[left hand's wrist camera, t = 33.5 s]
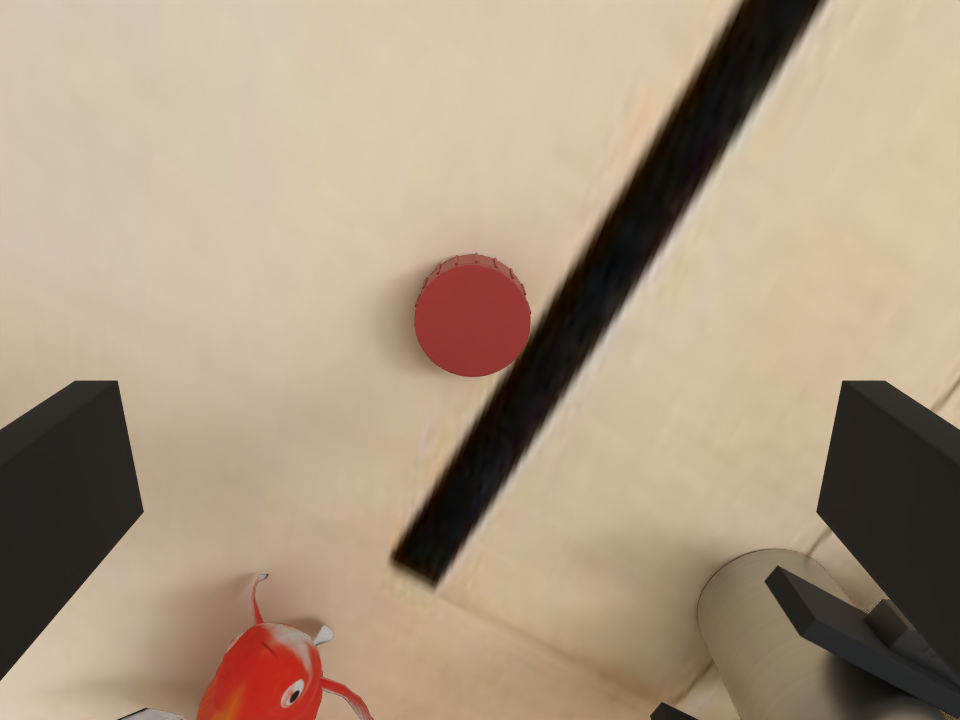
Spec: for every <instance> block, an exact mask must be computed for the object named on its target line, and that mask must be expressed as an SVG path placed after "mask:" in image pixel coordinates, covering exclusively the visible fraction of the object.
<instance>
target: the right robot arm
mask: <svg viewBox="0 0 960 720" xmlns="http://www.w3.org/2000/svg"><path fill="white" fill-rule="evenodd" d="M764 582H765V583H766V585H767V586H768V588H769V590H770V591H771V593H772V594H773V596H774V597H775V599H776V600H777V602H778V603H779V605H780V606H781V608H782V609H783V611H784V613H785V614H786V616H787V617H788V619H789V620H790V622H791V623H792V625H793V626H794V628H795V629H796V631H797V632H798V634H799V636H800V637H802V638H804V639H806V640H808V641H810V642H812V643H814V644H816V645H818V646H819V647H821V648H823V649H825V650H827V651H829V652H831V653H833V654H835V655H837V656H839V657H840V658H842V659H844V660H846V661H848V662H850V663H852V664H854V665H856V666H858V667H860V668H861V669H863V670H865V671H867V672H869V673H871V674H873V675H875V676H877V677H879V678H881V679H882V680H884V681H886V682H888V683H890V684H892V685H894V686H896V687H898V688H900V689H902V690H903V691H905V692H907V693H909V694H911V695H913V696H915V697H917V698H919V699H921V700H923V701H925V702H927V703H928V704H930V705H932V706H934V707H936V708H938V709H940V710H942V711H944V712H945V713H947V714H949V715H951V716H953V717H955V718H957V719H958V718H959V717H960V681H959V680H958V678H957V677H956V676H955V675H954V674H953V672H952V671H951V670H950V669H949V668H948V667H947V665H946V664H945V663H944V662H943V661H942V660H941V658H940V657H939V656H938V655H937V654H936V652H935V651H934V650H933V649H932V648H931V647H930V645H929V644H928V643H927V642H926V641H925V639H924V638H923V637H922V636H921V635H920V634H919V632H918V631H917V630H916V629H915V628H914V627H913V625H912V624H911V623H910V622H909V621H908V619H907V618H906V617H905V616H904V615H903V614H902V612H901V611H900V610H899V609H898V608H897V606H896V605H895V604H894V603H893V602H892V601H891V600H886V599H882V600H881V601H880V603H879V604H878V605H877V606H876V607H875V608H874V609H873V610H872V611H871V612H870V613H869V614H867V613H865V612H863V611H861V610H859V609H858V608H856V607H854V606H852V605H850V604H848V603H846V602H845V601H843V600H841V599H839V598H837V597H835V596H834V595H832V594H830V593H828V592H826V591H824V590H822V589H821V588H819V587H817V586H815V585H813V584H811V583H810V582H808V581H806V580H804V579H802V578H800V577H799V576H797V575H795V574H793V573H791V572H789V571H787V570H786V569H784V568H782V567H780V566H778V565H777V567H776V568H775V569H774V570H773V571H772V572H771V574H770V575H769V576H768V577H767V578H766V580H765V581H764ZM650 717H651V720H698V719H696V718H694V717H692V716H690V715H688V714H686V713H683V712H681V711H679V710H677V709H675V708H673V707H671V706H669V705H667V704H665V703H663V702H661V704H660V705H659V706H658V707H657V708H656V710H655V711H654V712H653V713H652V714H651V715H650Z"/></svg>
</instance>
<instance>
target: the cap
mask: <svg viewBox="0 0 960 720" xmlns="http://www.w3.org/2000/svg"><path fill="white" fill-rule="evenodd" d="M525 295H526V292H525V289H524V286H523V284H520V282H519V280H518V278H517V277H516V276H515V274H514V273H513V271H512V269H511V268H510V269H509V268H508V267H507V266H505V265H504V264H502V263H501V262H499V261H497V259H496V258H494V259H493V258H490V257H487V256H482V255H477V253H475V255H463V256H458V255H457V256H456V257H455V258H452V259H450V260H448V261H446V262H445V263H443V264H439V265H438V268H436V269H435V270H434V271H433V273H432V274H431V275H430V276H429V278H426V279H425V282H424V285H423V289H422V292H421V295H420V294H419V296H418V299H417V302H416V305H415V307H416V312H415V324H414V326H415V330H416V335H417V338H418V341H419V343H420V345H421V347H422V349H423V350H424V352H425V353H426V355H427V356H428V357H429V358H430V359H431V360H432V361H433V362H434V363H435V364H436V365H438V366H439V367H441V368H442V369H444V370H446V371H448V372H450V373H453V374H456V375H460V376H467V377H479V376H485V375H489V374H492V373H495V372H497V371H499V370H501V369H503V368H505V367H506V366H508V365H509V364H510V363H511V362H512V361H513V360H514V359H515V358H516V357H517V356H518V355H519V354H520V352H521V351H522V349H523V347H524V346H525V344H526V341H527V339H528V335H529V331H530V314H531V311H530V307H529V304H528V301H527V300H526V297H525Z"/></svg>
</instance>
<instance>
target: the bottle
mask: <svg viewBox="0 0 960 720" xmlns="http://www.w3.org/2000/svg"><path fill="white" fill-rule="evenodd" d="M777 565H778V566H780V567H782V568H784V569H786V570H787V571H789V572H791V573H793V574H795V575H797V576H799V577H800V578H802V579H804V580H806V581H808V582H810V583H811V584H813V585H815V586H817V587H819V588H821V589H822V590H824V591H826V592H828V593H830V594H832V595H834V596H835V597H837V598H839V599H841V600H843V601H845V602H846V603H848V604H850V605H852V606H854V607H855V605H854V604H853V603H852V602H851V600H850V599H849V598H848V597H847V596H846V594H845V593H844V592H843V591H842V589H841V588H840V587H839V586H838V584H837V583H836V582H835V581H834V580H833V578H832V577H831V576H830V575H829V573H828V572H827V571H826V570H825V569H824V568H823V566H821V565H820V564H819V563H818V562H817V561H815V560H813V559H812V558H810V557H808V556H806V555H804V554H801V553H798V552H794V551H790V550H783V549H770V550H762V551H756V552H753V553H749V554H746V555H744V556H741V557H739V558H737V559H735V560H733V561H731V562H730V563H728V564H727V565H725V566H724V567H723V568H721V569H720V570H719V571H718V572H717V573H716V574H715V575H714V576H713V577H712V578H711V579H710V581H709V582H708V584H707V585H706V587H705V588H704V590H703V592H702V594H701V597H700V600H699V604H698V609H697V620H698V626H699V629H700V632H701V634H702V637H703V639H704V641H705V643H706V645H707V648H708V650H709V652H710V654H711V656H712V659H713V661H714V663H715V665H716V667H717V670H718V672H719V674H720V676H721V678H722V681H723V683H724V685H725V687H726V689H727V692H728V694H729V696H730V698H731V700H732V703H733V705H734V707H735V709H736V711H737V714H738V716H739V718H740V720H947V719H946V718H945V716H944V715H943V714H942V713H941V711H940V710H939V709H938V708H936V707H934V706H932V705H930V704H928V703H927V702H925V701H923V700H921V699H919V698H917V697H915V696H913V695H911V694H909V693H907V692H905V691H903V690H902V689H900V688H898V687H896V686H894V685H892V684H890V683H888V682H886V681H884V680H882V679H881V678H879V677H877V676H875V675H873V674H871V673H869V672H867V671H865V670H863V669H861V668H860V667H858V666H856V665H854V664H852V663H850V662H848V661H846V660H844V659H842V658H840V657H839V656H837V655H835V654H833V653H831V652H829V651H827V650H825V649H823V648H821V647H819V646H818V645H816V644H814V643H812V642H810V641H808V640H806V639H804V638H802V637H800V636H799V634H798V632H797V631H796V629H795V628H794V626H793V625H792V623H791V622H790V620H789V619H788V617H787V616H786V614H785V613H784V611H783V609H782V608H781V606H780V605H779V603H778V602H777V600H776V599H775V597H774V596H773V594H772V593H771V591H770V590H769V588H768V586H767V585H766V583H765V582H764V581H765V580H766V578H767V577H768V576H769V575H770V574H771V572H772V571H773V570H774V569H775V568H776V567H777Z"/></svg>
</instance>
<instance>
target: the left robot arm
mask: <svg viewBox="0 0 960 720" xmlns="http://www.w3.org/2000/svg"><path fill="white" fill-rule="evenodd" d="M143 512H144V511H143V506H142V501H141V496H140V491H139V486H138V481H137V476H136V471H135V466H134V461H133V456H132V451H131V446H130V441H129V436H128V431H127V426H126V421H125V416H124V411H123V406H122V401H121V396H120V391H119V386H118V381H74V382H72V383H71V384H69V385H68V386H66V387H65V388H63V389H62V390H60V391H59V392H57V393H56V394H54V395H53V396H51V397H50V398H48V399H46V400H45V401H43V402H42V403H40V404H39V405H37V406H36V407H34V408H33V409H31V410H30V411H28V412H27V413H25V414H24V415H22V416H21V417H19V418H17V419H16V420H14V421H13V422H11V423H10V424H8V425H7V426H5V427H4V428H2V429H1V430H0V681H1V680H2V678H3V677H4V676H5V675H6V674H7V672H8V671H9V670H10V669H11V668H12V667H13V665H14V664H15V663H16V662H17V661H18V660H19V658H20V657H21V656H22V655H23V654H24V652H25V651H26V650H27V649H28V648H29V647H30V645H31V644H32V643H33V642H34V641H35V639H36V638H37V637H38V636H39V635H40V634H41V632H42V631H43V630H44V629H45V628H46V627H47V625H48V624H49V623H50V622H51V621H52V619H53V618H54V617H55V616H56V615H57V614H58V612H59V611H60V610H61V609H62V608H63V606H64V605H65V604H66V603H67V602H68V601H69V599H70V598H71V597H72V596H73V595H74V593H75V592H76V591H77V590H78V589H79V588H80V586H81V585H82V584H83V583H84V582H85V581H86V579H87V578H88V577H89V576H90V575H91V573H92V572H93V571H94V570H95V569H96V568H97V566H98V565H99V564H100V563H101V562H102V560H103V559H104V558H105V557H106V556H107V555H108V553H109V552H110V551H111V550H112V549H113V547H114V546H115V545H116V544H117V543H118V542H119V540H120V539H121V538H122V537H123V536H124V535H125V533H126V532H127V531H128V530H129V529H130V527H131V526H132V525H133V524H134V523H135V522H136V520H137V519H138V518H139V517H140V516H141V514H142V513H143ZM816 512H817V513H818V514H819V516H820V517H821V518H822V519H823V520H824V522H825V523H826V524H827V525H828V526H829V527H830V529H831V530H832V531H833V532H834V533H835V535H836V536H837V537H838V538H839V539H840V540H841V542H842V543H843V544H844V545H845V546H846V547H847V549H848V550H849V551H850V552H851V553H852V555H853V556H854V557H855V558H856V559H857V560H858V562H859V563H860V564H861V565H862V566H863V568H864V569H865V570H866V571H867V572H868V573H869V575H870V576H871V577H872V578H873V579H874V581H875V582H876V583H877V584H878V585H879V586H880V588H881V589H882V590H883V591H884V592H885V593H886V595H887V596H888V597H889V598H890V599H891V601H892V602H893V603H894V604H895V605H896V606H897V608H898V609H899V610H900V611H901V612H902V614H903V615H904V616H905V617H906V618H907V619H908V621H909V622H910V623H911V624H912V625H913V627H914V628H915V629H916V630H917V631H918V632H919V634H920V635H921V636H922V637H923V638H924V639H925V641H926V642H927V643H928V644H929V645H930V647H931V648H932V649H933V650H934V651H935V652H936V654H937V655H938V656H939V657H940V658H941V660H942V661H943V662H944V663H945V664H946V665H947V667H948V668H949V669H950V670H951V671H952V672H953V674H954V675H955V676H956V677H957V678H958V680H959V681H960V430H959V429H958V428H956V427H955V426H953V425H952V424H950V423H949V422H947V421H946V420H944V419H943V418H941V417H939V416H938V415H936V414H935V413H933V412H932V411H930V410H929V409H927V408H926V407H924V406H923V405H921V404H920V403H918V402H917V401H915V400H914V399H912V398H910V397H909V396H907V395H906V394H904V393H903V392H901V391H900V390H898V389H897V388H895V387H894V386H892V385H891V384H889V383H888V382H886V381H842V386H841V391H840V396H839V401H838V406H837V411H836V416H835V421H834V426H833V431H832V436H831V441H830V446H829V451H828V456H827V461H826V466H825V471H824V476H823V481H822V486H821V491H820V496H819V501H818V506H817V511H816Z"/></svg>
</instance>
